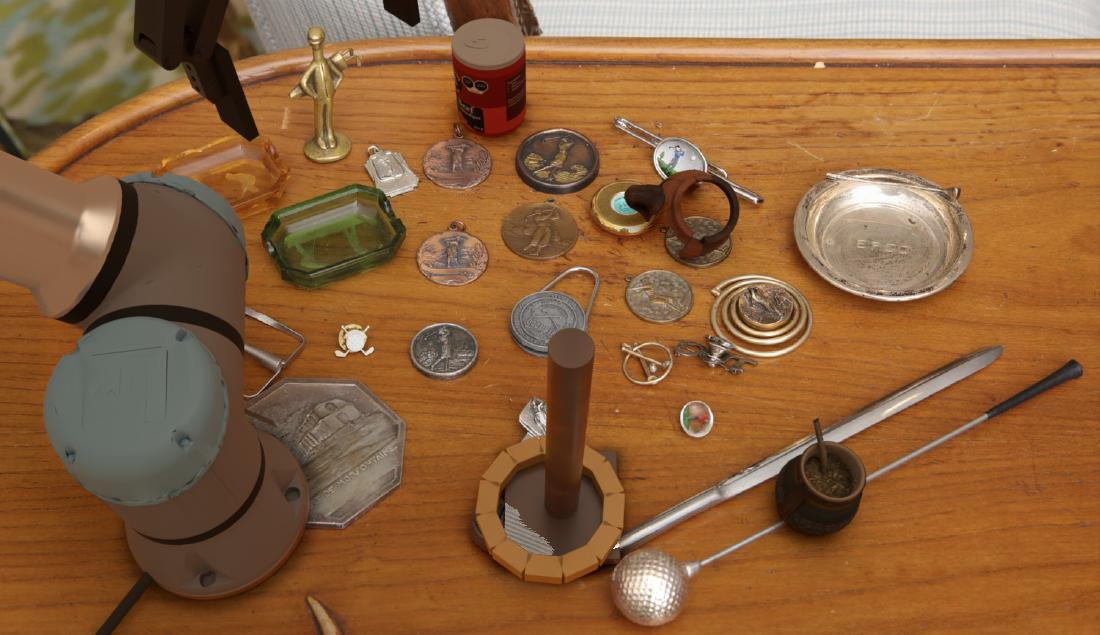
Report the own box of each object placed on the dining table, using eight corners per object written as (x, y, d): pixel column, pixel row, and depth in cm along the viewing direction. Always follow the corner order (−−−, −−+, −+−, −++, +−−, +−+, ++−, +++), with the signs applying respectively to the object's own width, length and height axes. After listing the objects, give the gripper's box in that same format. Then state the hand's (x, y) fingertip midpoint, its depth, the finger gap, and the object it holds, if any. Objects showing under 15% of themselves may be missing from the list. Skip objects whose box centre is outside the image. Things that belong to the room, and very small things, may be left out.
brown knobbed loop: (716, 187, 103) (750, 169, 95) (709, 270, 101) (744, 259, 94) (614, 169, 100) (641, 150, 92) (607, 255, 99) (633, 242, 91)
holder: (503, 563, 79) (488, 418, 55) (506, 455, 84) (495, 281, 61) (619, 564, 79) (654, 420, 55) (615, 457, 84) (646, 283, 61)
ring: (568, 613, 75) (568, 607, 74) (448, 526, 79) (446, 519, 77) (650, 495, 81) (652, 487, 79) (534, 419, 85) (534, 410, 83)
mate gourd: (802, 561, 79) (834, 520, 71) (749, 489, 83) (773, 443, 74) (866, 520, 81) (904, 476, 73) (811, 452, 85) (841, 402, 76)
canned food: (451, 99, 109) (443, 25, 99) (515, 86, 110) (513, 11, 101) (467, 145, 105) (460, 72, 95) (534, 131, 106) (534, 57, 97)
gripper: (25, -148, 34) (203, 214, 52) (485, -368, 44) (501, -2, 62) (-80, -219, 37) (124, 149, 54) (378, -411, 47) (423, -48, 65)
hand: (325, 69), depth 58 cm, fingers open, 13 cm apart
